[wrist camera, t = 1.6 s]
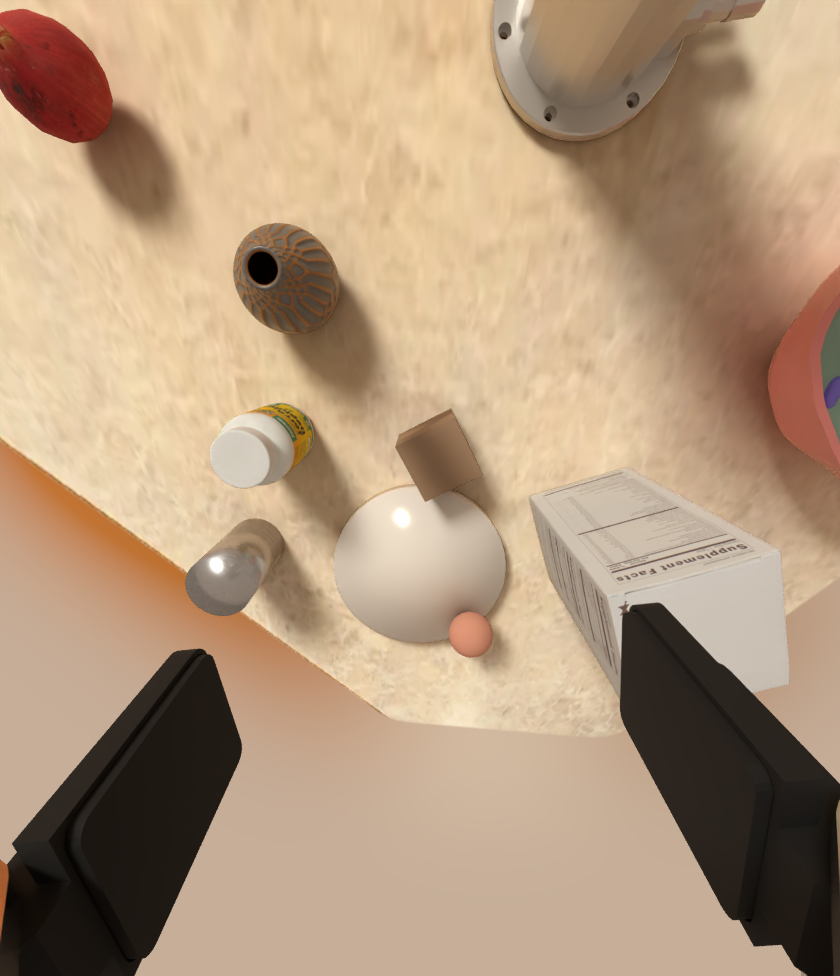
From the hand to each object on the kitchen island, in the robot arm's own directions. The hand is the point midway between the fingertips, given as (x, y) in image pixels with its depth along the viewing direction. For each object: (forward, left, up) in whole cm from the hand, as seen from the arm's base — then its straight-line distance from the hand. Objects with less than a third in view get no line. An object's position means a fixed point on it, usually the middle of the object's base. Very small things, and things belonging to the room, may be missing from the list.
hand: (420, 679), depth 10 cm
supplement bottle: (+12, -2, -29) cm, 31 cm away
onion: (+20, -26, -29) cm, 43 cm away
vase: (+8, -13, -29) cm, 32 cm away
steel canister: (+17, +8, -28) cm, 34 cm away
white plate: (+2, +12, -28) cm, 31 cm away
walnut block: (-1, +1, -28) cm, 29 cm away
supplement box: (-14, +10, -29) cm, 33 cm away
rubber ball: (-2, +18, -27) cm, 33 cm away
